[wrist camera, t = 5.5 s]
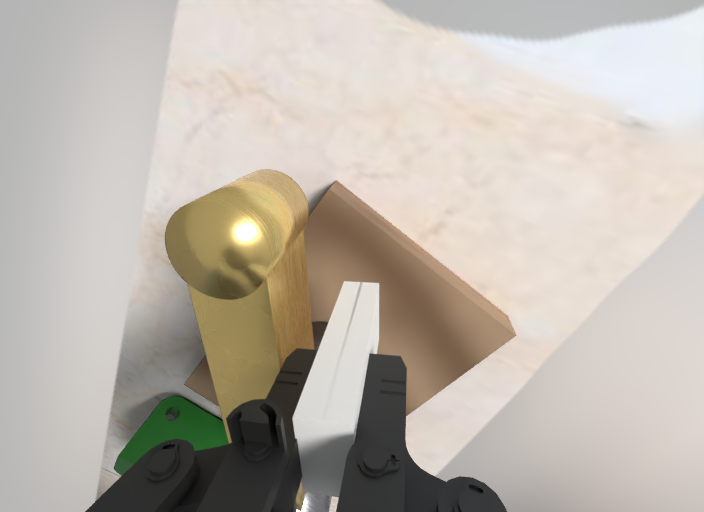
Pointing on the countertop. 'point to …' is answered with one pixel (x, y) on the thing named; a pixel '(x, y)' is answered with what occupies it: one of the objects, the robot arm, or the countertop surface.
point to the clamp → (173, 431)
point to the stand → (393, 297)
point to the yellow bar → (247, 286)
